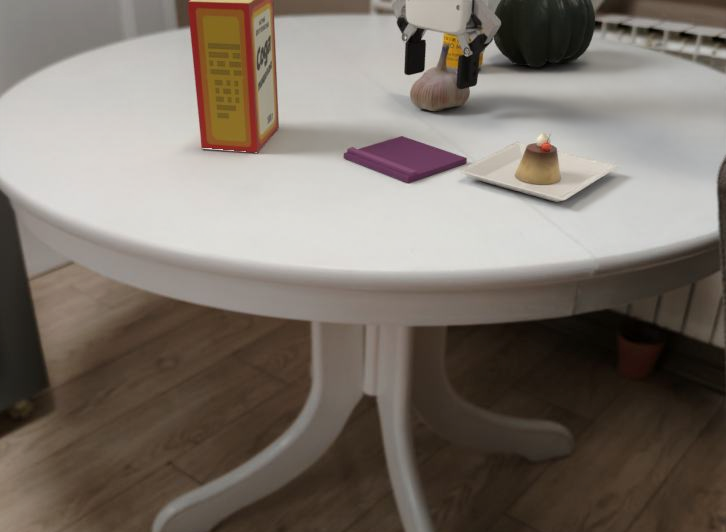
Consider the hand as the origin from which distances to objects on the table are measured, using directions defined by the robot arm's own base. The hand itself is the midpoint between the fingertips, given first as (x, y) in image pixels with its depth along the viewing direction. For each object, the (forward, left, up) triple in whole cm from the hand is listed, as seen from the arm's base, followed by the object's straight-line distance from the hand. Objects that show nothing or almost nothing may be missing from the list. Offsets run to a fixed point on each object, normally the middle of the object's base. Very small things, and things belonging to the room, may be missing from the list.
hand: (439, 79), depth 103 cm
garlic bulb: (0, 0, -4) cm, 4 cm away
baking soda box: (+7, +27, -4) cm, 28 cm away
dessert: (-24, +11, -4) cm, 27 cm away
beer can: (+12, -17, -4) cm, 21 cm away
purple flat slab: (-11, +18, -4) cm, 21 cm away
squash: (+7, -29, -4) cm, 30 cm away
